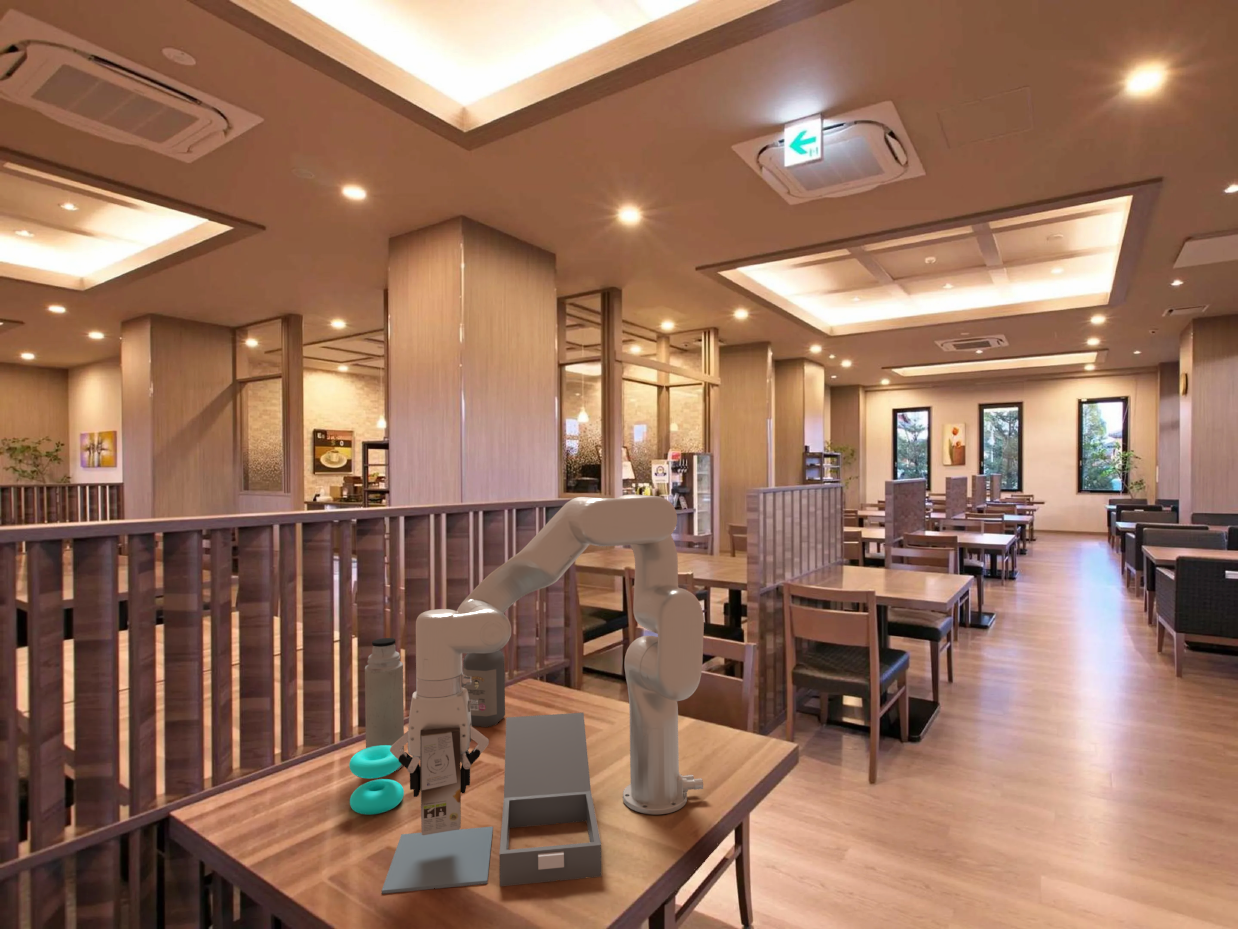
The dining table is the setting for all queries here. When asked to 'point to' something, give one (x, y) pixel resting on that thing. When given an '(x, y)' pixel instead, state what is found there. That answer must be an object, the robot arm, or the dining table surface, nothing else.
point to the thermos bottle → (384, 695)
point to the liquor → (485, 687)
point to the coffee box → (440, 780)
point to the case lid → (546, 755)
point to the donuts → (375, 781)
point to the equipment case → (549, 859)
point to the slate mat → (440, 860)
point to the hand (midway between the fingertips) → (440, 790)
